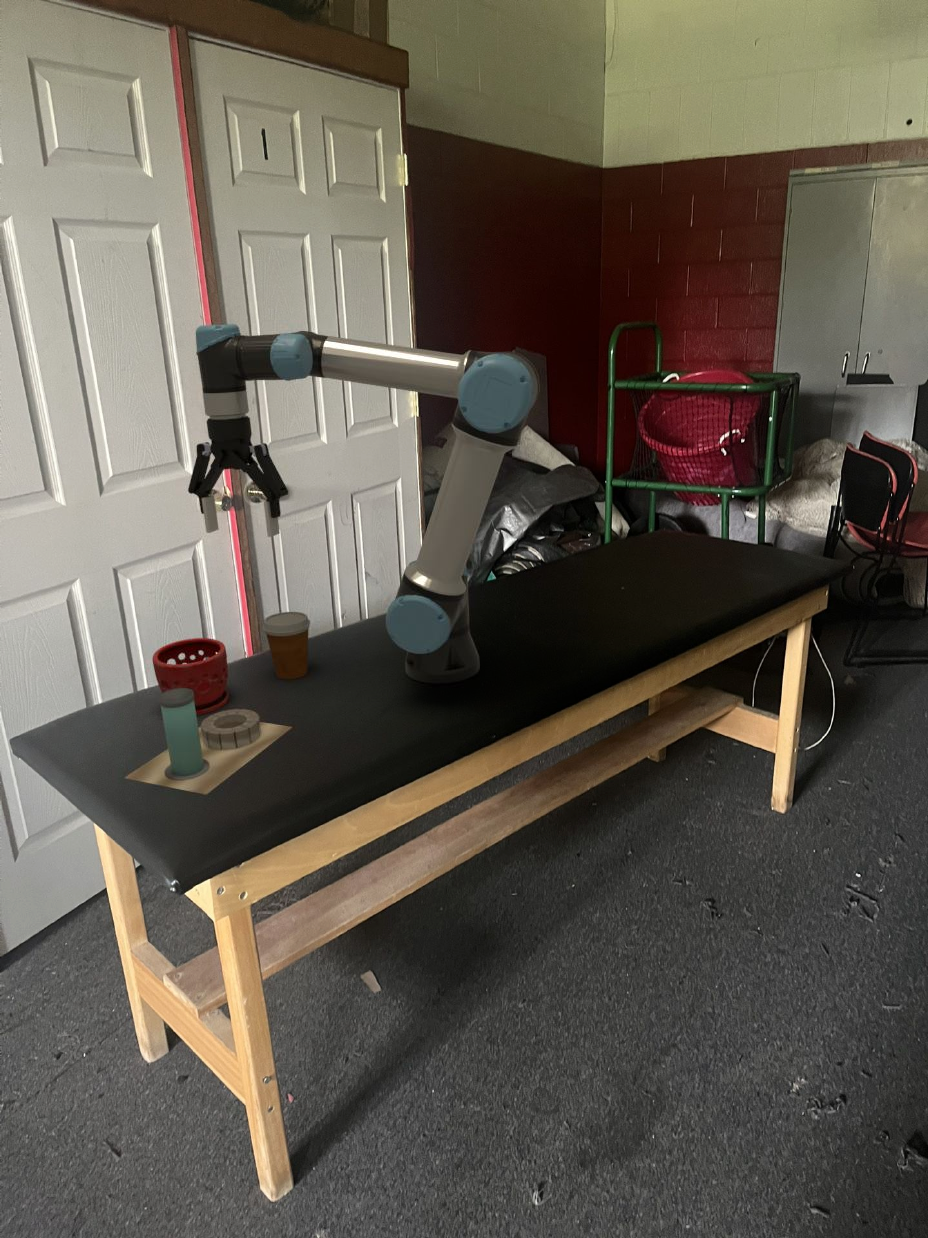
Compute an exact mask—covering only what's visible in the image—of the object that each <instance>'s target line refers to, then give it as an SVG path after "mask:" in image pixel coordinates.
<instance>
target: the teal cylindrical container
mask: <svg viewBox="0 0 928 1238" xmlns="http://www.w3.org/2000/svg"><path fill="white" fill-rule="evenodd" d="M158 702H159V705H160V710H161V715H162V721H163V727H164V728H163V729H164V732H165V738H166V746H167V749H168V751H169V757H170V763H171V769H172V773H173V774H174V775H176V776H190V775H194V774H196V773H198V772H200V771H201V770H202V769H203V768H204V761H203V755H202V749H201V742H200V736H199V730H198V728H199V724H198V717H197V715H196V710H195V704H194V693H193V691H192V690H191V689H187V688H177V689H172V690H168V691H166V692H164V693H162V692H161V693H160V694H159V695H158Z"/></svg>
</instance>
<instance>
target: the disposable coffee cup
mask: <svg viewBox="0 0 928 1238" xmlns="http://www.w3.org/2000/svg"><path fill="white" fill-rule="evenodd" d="M310 625H311V620H309V618H308V615H307V614H306V613H303V612H302V611H301V612H299V611H283V612H277V613H274V614H271V615H268V616H266V617H265V618H264V620H263V625H262V630H263V632H264V633H265V636H266V641H267V644H268V647H269V651H270V654H271V660H272V664H273V667H274V671H275V675H276V677H277V678H278V679H281V680H295V679H296V680H297V679H299V678H302V677H305V676H306V675H307V674H308V660H309V659H308V657H309V656H308V655H309V654H308V653H309V629H310Z"/></svg>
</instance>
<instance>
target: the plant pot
mask: <svg viewBox="0 0 928 1238" xmlns="http://www.w3.org/2000/svg"><path fill="white" fill-rule="evenodd" d="M226 649H227V648H226V646H225V644H224V643H223V642H221V641H220V640H217V639H214V638H208V637H207V638H206V637H199V638H198V637H195V638H188V639H186V638H185V639H182V640H178V641H177V640H176V641H174V642H171V643H168V644H165V645H164V646H161V647H160V648H159V649H157V650H156V651H155V652H154V654H153V655H152V663H153V664H152V666H153V670H154V675H155V677H156V682H157V684H158V687H159V690H160V691H161V694H162V693H164V692H166V691H168V690H172V689H177V688H187V689H191V690H192V691H193V693H194V704H195V710H196V716H200V715H205V714H208V713H209V714H210V713H211V712H212V713H213V712H214V711H218V710H219V709H221V708H223V707H224V706H225V705H226V704H227V702H228V700H229V699H230V697H229V692H228V691H227V689H226V687H227V683H228V677H229V666H228V655H227V651H226ZM200 651H202V652H203V654H200V653H199V652H200ZM180 654H184V658H182V659H181V658H179V656H180ZM191 656H193V657H194V659H192V658H191ZM206 658H207V659H206ZM169 660H174V663H175V664H172V663H169V662H168V661H169Z"/></svg>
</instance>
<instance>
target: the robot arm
mask: <svg viewBox="0 0 928 1238" xmlns="http://www.w3.org/2000/svg"><path fill="white" fill-rule="evenodd" d="M241 334H242V333H241V331H240V327H239V326H238V325H237V324H236V323H233V324H232V323H229V324H208V325H207V324H206V325H200V326H198V327H197V328H196V331H195V345H196V356H197V360H198V368H199V373H200V379H201V380H200V381H201V387H202V388H201V389H202V399H203V407H204V414H205V415H206V416H207V417H209V418H207V419H206V428H207V429H206V430H207V435H208V439H209V440H210V441H211V444H210V442H208V441H206V442H205V441H204V442H202V443H201V442H200V443H198V444H197V443H196V458H195V462H194V465H193V470H192V473H191V477H190V481H189V485H188V487H187V491H188V493H189V494H190V495H191V494H192V495H195V496H196V497H197V498H198V502H199V509H200V512H201V515H203V518H204V525H205V531H206V534H207V533H208V534H210V533H213V532H216V531H218V530H219V529H220V528H219V523H218V522H219V521H218V515H217V508H216V500H215V499H216V498H215V495H212V494H213V493H212V491H213V489H214V487H215V486H216V484H217V482H218V480H219V479H220V477H221V475H222V473H223V471H224V470H231V469H232V470H234V471H235V470H237V471H239V470H241V471H242V472H243V473H245V474H247V477H249V478H250V480H251V481H252V482H253V484H254V485H255V486H256V487H257V488H258V489H259V490H260V492H261V493H262V494H263V496H264V497H265V498H266V500H264V501H263V508H264V517H265V525H266V532H267V537H268V538H273V537H275V536H277V535H279V534H280V524H279V523H280V522H279V518H280V517H281V515H282V511H281V503H280V499H281V498H282V497H285V496H287V495H288V494H289V490H288V488H287V485H286V484H285V482H284V480H283V478H282V476H281V475H280V472H279V470H278V468H277V467H276V465H275V463H274V461H273V459H272V457H271V456H270V451H269V447H268V444H267V443H266V442H264V443H260V444H255V445H253V443H252V436H253V435H252V434H253V433H252V424H251V418H250V417H249V415H247V414H248V413H249V412H250V409H249V400H248V393H247V392H248V391H247V383H246V382H247V381H248V382H251V381H289V382H291V381H295V380H303V379H307V378H308V377H313V378H321V379H323V378H324V379H331V380H336V381H337V380H338V381H343V382H352V383H356V384H357V383H358V384H365V385H368V386H369V385H370V386H376V387H381V388H382V387H384V388H390V389H397V390H402V391H406V392H407V391H408V392H415V393H422V394H427V395H428V394H429V395H436V396H442V397H446V398H453V399H457V401H458V403H457V405H456V409H455V412H454V415H453V418H452V422H451V427H452V428H453V432H454V433H455V435H456V438H455V441H454V444H453V447H452V451H451V454H450V457H449V460H448V463H447V466H446V469H445V473H444V476H443V478H442V482H441V484H440V487H439V490H438V493H437V497H436V500H435V503H434V506H433V509H432V512H431V515H430V518H429V521H428V525H427V528H426V530H425V533H424V537H423V540H422V543H421V546H420V549H419V552H418V554H417V558H416V560H412V561H411V562H410V563H408V565H407V566H406V567H405V569H404V570H403V574H402V577H401V581H400V583H399V586H398V590H397V593H396V596H395V598H394V600H393V601H391V603H390V604H389V606H388V608H387V612H386V616H385V627H386V630H387V633H388V635H389V636H390V638H391V640H392V641H393V643H395V644H396V645H397V646H398V647H399V648H400V649H402V650H405V651H406V652H407V653H406V657H405V659H404V660H405V662H404V665H405V673H406V675H407V676H408V677H409V678H410V679H412V680H415V681H417V682H421V683H425V684H435V685H436V684H451V683H457V682H460V681H466V680H467V679H471V678H472V677H474V676H475V675H477V673H478V672H479V671H480V670H481V669H480V666H481V664H480V655H479V653H478V650H477V647H476V645H475V643H474V639H473V637H472V636H471V633H470V612H469V611H470V610H469V609H470V608H469V607H470V605H469V603H470V602H469V583H468V578H469V574H468V569H467V563H468V562H467V561H468V558H469V557H470V553H471V551H472V547H473V545H474V542H475V539H476V536H477V534H478V531H479V528H480V526H481V522H482V519H483V516H484V513H485V511H486V508H487V505H488V501H489V499H490V496H491V494H492V491H493V488H494V485H495V481H496V480H497V477H498V474H499V470H500V468H501V464H502V461H503V459H504V456H505V454H506V453H507V452H509V451H511V450H513V449H515V448H517V447H518V446H517V445H518V443H519V441H520V437H521V435H522V432H523V430H524V428H525V424H526V421H527V418H528V415H529V413H530V411H531V410H532V409H533V407H534V405H535V404H536V402H537V399H538V398H539V395H540V394H539V393H540V389H541V388H540V378H539V374H538V372H537V370H536V367H535V366H534V364H533V363H532V362H531V361H530V360H529V359H528V358H527V357H525V356H523V355H521V353H516V352H513V351H495V352H491V351H480V350H479V351H478V350H470V349H469V350H468V351H466V352H465V353H464V354H457V353H449V352H442V351H437V350H429V349H422V348H415V347H409V346H407V347H406V346H400V345H395V344H388V343H387V344H386V343H382V342H381V343H380V342H373V341H366V340H359V339H352V338H345V337H338V336H331V335H329V336H328V335H324V334H318V333H316V332H312V331H308V330H299V331H295V332H283V333H276V334H275V333H274V334H272V333H271V334H258V335H243V334H242V335H241ZM211 455H212V456H213V457H214V459H213V460H212V462H211V464H210V461H211ZM254 457H255V458H256V460H255V458H254ZM209 464H210V468H209ZM208 468H209V470H208ZM207 471H208V472H207Z"/></svg>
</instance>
